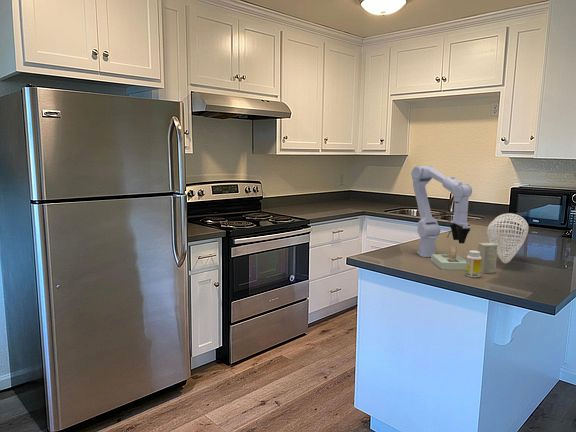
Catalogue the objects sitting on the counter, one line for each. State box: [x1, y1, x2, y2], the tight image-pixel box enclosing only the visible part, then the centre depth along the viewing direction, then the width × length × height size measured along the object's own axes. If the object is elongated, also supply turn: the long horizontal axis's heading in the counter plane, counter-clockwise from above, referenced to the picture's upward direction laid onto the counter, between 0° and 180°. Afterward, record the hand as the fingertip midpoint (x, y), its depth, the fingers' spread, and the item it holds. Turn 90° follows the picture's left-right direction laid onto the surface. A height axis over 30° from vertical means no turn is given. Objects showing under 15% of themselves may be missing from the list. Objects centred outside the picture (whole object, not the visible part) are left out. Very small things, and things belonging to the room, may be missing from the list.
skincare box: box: [477, 242, 498, 274], centre depth 181 cm, size 6×4×12 cm
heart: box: [486, 212, 530, 264], centre depth 195 cm, size 28×16×22 cm, turn 148°
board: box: [430, 253, 467, 271], centre depth 192 cm, size 16×12×3 cm
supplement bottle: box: [465, 249, 482, 278], centre depth 174 cm, size 6×6×10 cm
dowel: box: [448, 246, 458, 262], centre depth 187 cm, size 3×3×9 cm
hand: (458, 241), depth 192 cm, fingers open, 7 cm apart
